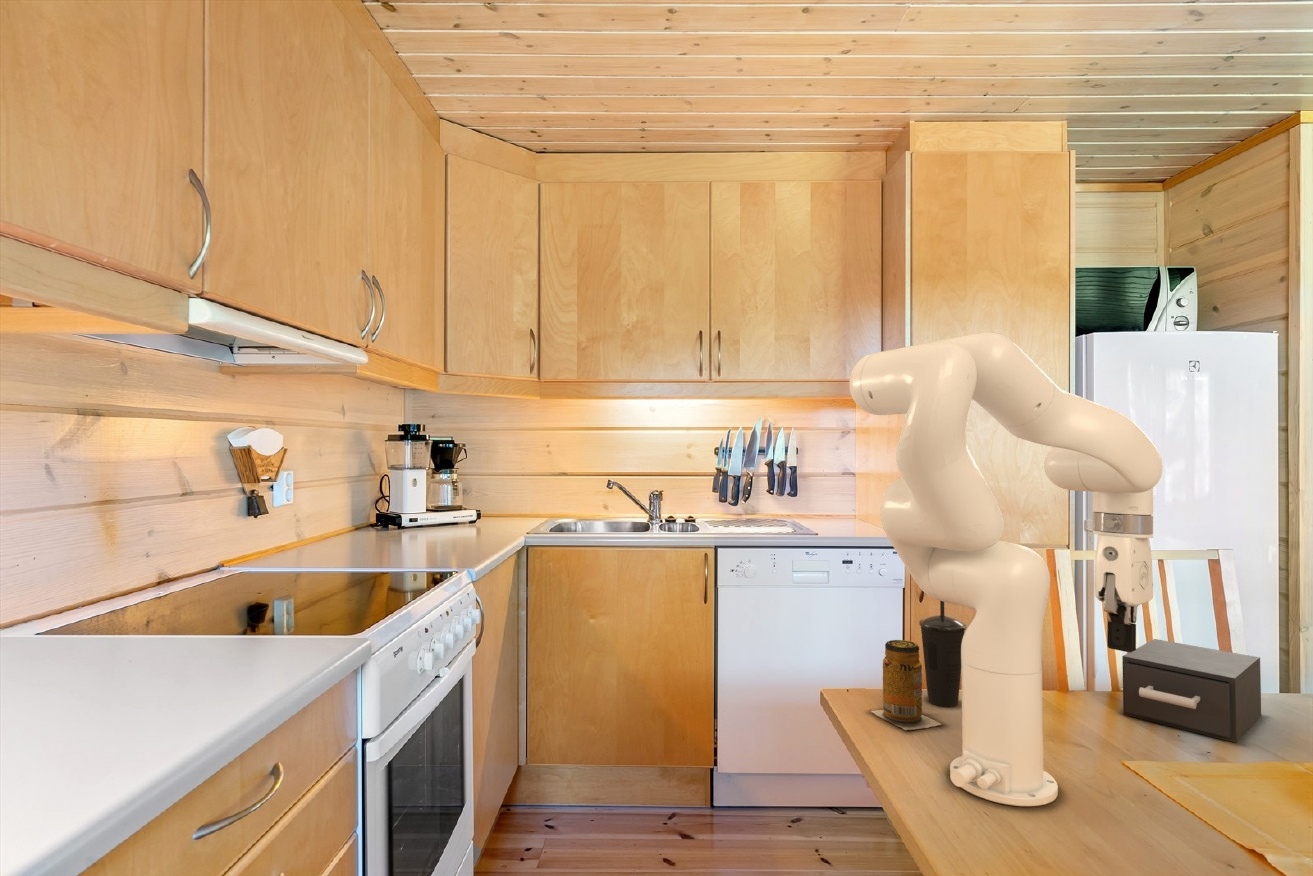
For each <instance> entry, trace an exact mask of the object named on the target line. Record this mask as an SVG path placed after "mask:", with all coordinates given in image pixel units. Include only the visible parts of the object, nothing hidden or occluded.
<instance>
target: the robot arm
mask: <svg viewBox="0 0 1313 876" xmlns="http://www.w3.org/2000/svg"><path fill="white" fill-rule="evenodd" d="M848 387H849V393H850V396H851V398H852V400H853V402H854V403H855V404H856V405H857V406H858V408H860V409H861V410H862V411H864V412H865V413H868V414H870V415H875V416H891V415H906V416H905V420H904V421H903V422H904V423H903V426H902V429H901V432H900V435H899V438H898V441H897V445H896V452H895V460H896V465H897V468H898V471H899V473H900V475H901V477H900V478H898V479H896V480H894V481H892V482H891V483H890V484H889V485H888V486H887V487H886V489H885V490H884V492H883V493H882V497H881V500H880V507H879V512H880V514H879V515H880V521H881V526H882V528H883V530H884V533H885V535H886V537H887V539H888V540H889V542H890V544H891V546H892V547H893V548H894V550H895V552H896V554H897V555H898V557H899V558H900V560H901V561H902V564H903V565H904V566H905V568H906V570H907V571H908V573H909V574H910V576H911V577H912V579H913V580H914V582H915V584H917V586H918V587H919V589H920V590H921V591H922V592H923V593H924V594H925V595H927V596H928V597H930V598H932V599H935V600H938V601H939V602H940V601H944V603H948V604H953V605H956V606H962V607H965V608H969V609H971V610H975V611H976V612H975V616H974V617H973V619H972V621H971V622H970V624H969V625H968V627H967V628H966V630H965V632H964V636H963V639H962V644H961V740H962V741H961V747H962V748H961V749H962V750H961V751H962V752H961V755H960V756H958V757H956V758H954V759H953V760H952V761H951V762H950V764H949V771H950V772H949V777H950V778H949V779H950V781H951V783H953V785H954V786H955V787H958V788H961V789H963V790H964V791H966V792H968V793H970V794H972V795H973V796H975V797H978V798H981V799H983V800H987V801H990V802H994V803H997V804H1003V805H1007V806H1015V807H1039V806H1044V805H1047V804H1050V803H1052V802H1053V801H1055V800H1056V799H1057V797H1058V795H1059V784H1058V782H1057V780H1056V779H1055V778H1054V777H1053V776H1052V775H1051V774H1050V773H1049V772H1047V771H1046V770H1044V769H1045V768H1044V714H1043V713H1044V711H1043V710H1044V708H1043V707H1044V706H1043V703H1044V702H1043V699H1044V698H1043V631H1044V630H1043V629H1044V620H1045V613H1046V608H1047V604H1048V598H1049V596H1050V595H1049V594H1050V588H1051V574H1050V573H1051V572H1050V570H1049V567H1048V565H1047V563H1046V561H1045V560H1044V558H1043V557H1042V556H1041V555H1040V554H1038V552H1036V551H1035V550H1033V549H1031V548H1029V547H1027V546H1024V545H1022V544H1018V543H1015V542H1009V541H1004V540H1000V539H1001V538H1002V536H1003V534H1004V531H1005V521H1004V516H1003V512H1002V510H1001V508H1000V505H999V503H998V500H997V499H996V497H995V495H994V492H992V490H991V487H990V486H989V484H988V482H987V481H986V479H985V476H983V474H982V472H981V470H980V468H979V466H978V465H977V462H976V461H975V459H974V457H973V455H972V453H971V450H970V449H969V446H968V443H967V439H966V427H967V420H968V415H969V411H970V408H971V404H972V401H974V402H975V403H976V404H978V405H979V406H980V407H981V408H982V409H983V410H985V411H986V412H987V413H988V414H989V415H990V416H991V417H992V418H993V419H995V420H996V421H997V423H998V424H1000V425H1001V426H1002V427H1003V429H1005V430H1006V431H1007V432H1008V433H1010V435H1012V436H1015V437H1016V438H1018V439H1021V440H1024V441H1027V442H1031V443H1034V444H1038V445H1042V446H1047V447H1051V448H1050V449H1049V451H1047V453H1046V454H1045V457H1044V462H1043V469H1044V472H1045V474H1046V477H1047V479H1048V480H1049V481H1050V482H1051V483H1052V484H1054V485H1055V486H1056V487H1059V488H1061V489H1063V490H1068V491H1073V492H1074V491H1075V492H1091V493H1092V534H1093V535H1097V539H1096V540H1097V541H1096V547H1095V549H1096V550H1095V563H1094V595H1095V598H1096V599H1097V601H1100V602H1103V611H1104V612H1105V613H1106V621H1107V625H1106V626H1107V627H1106V628H1107V629H1106V630H1107V634H1106V635H1107V636H1106V638H1107V639H1106V643H1107V644H1106V645H1107V648H1108V649H1111V650H1115V651H1120V652H1125V653H1129V652H1132V651H1135V650H1136V649H1137V624H1136V623H1137V617H1138V606H1139V605H1143V604H1146V603H1149V602H1151V601H1152V600H1153V598H1154V577H1153V576H1154V575H1153V560H1152V559H1153V557H1152V548H1151V541H1150V539H1153V538H1154V487H1156V486H1157V484H1158V483H1159V482H1160V480H1161V478H1162V476H1163V475H1162V474H1163V461H1162V457H1161V454H1160V452H1159V450H1158V448H1157V446H1156V445H1155V443H1154V442H1153V441H1152V440H1151V438H1150V437H1149V436H1148V435H1147V434H1146V433H1145V431H1143V429H1141V427H1140V426H1138V425H1137V423H1135V422H1134V421H1133V420H1132V419H1130V418H1129V417H1127V416H1126V415H1124V414H1122V413H1121V412H1119V411H1116V410H1115V409H1112V408H1110V407H1107V406H1106V405H1102V404H1099V403H1097V402H1094V401H1092V400H1089V399H1087V398H1085V397H1082V396H1079V395H1076V394H1074V393H1070V392H1067V391H1065V390H1063V389H1062V388H1060V387H1059V386H1058V385H1057V384H1056V383H1055V382H1054V381H1053V380H1052V379H1051V378H1050V377H1049V376H1048V375H1047V374H1046V373H1045V372H1044V371H1043V370H1042V369H1041V368H1040V367H1039V366H1038V365H1037V364H1036V363H1035V362H1034V361H1033V359H1032V358H1030V357H1029V356H1028V355H1027V354H1026V353H1025V352H1024V351H1023V350H1022V349H1021V348H1020V347H1019V346H1018V345H1017V344H1016V343H1015V342H1014V341H1013V340H1012V339H1011V338H1009V337H1008V336H1006V335H1004V334H1001V333H998V332H989V331H988V332H987V331H986V332H978V333H972V334H966V335H960V336H956V337H950V338H945V339H939V340H935V341H931V342H930V341H929V342H925V343H919V344H915V345H909V346H903V347H900V348H894V349H889V350H883V351H876V352H873V353H869V354H867V355H865V356H863V357H862V358H860V359H859V360H858V362H857V363H855V365H854V366H853V368H852V370H851V372H850V375H849V380H848Z"/></svg>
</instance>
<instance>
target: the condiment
mask: <svg viewBox="0 0 1313 876" xmlns="http://www.w3.org/2000/svg"><path fill="white" fill-rule="evenodd" d="M884 647H885V648H884V649H885V650H884V655H885V656H884V658H883V659H882V709H876V710H871V711H870V712H871V713H872V714H874V715H875V716H877V717H879V718H881V719H883V720H885V721H886V722H889V723H891V724H892V725H894V726H896V727H898V728H901V729H902V730H904V731H911V730H921V729H928V728H932V727H937V726H941V725H943V724H942V723H940V722H939V721H936V720H934V719H932V718H930V717H929V716H926V715H923V697H922V696H923V674H922V673H923V671H922V670H923V665H922V662H921V660H920V646H919V645H918V644H917V643H916V642H912V641H910V640H905V639H892V640H887V641H886V643H885V644H884Z"/></svg>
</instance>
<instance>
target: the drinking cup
mask: <svg viewBox="0 0 1313 876" xmlns="http://www.w3.org/2000/svg"><path fill="white" fill-rule="evenodd" d="M918 625H919V626H920V632H921V633H920V634H921V642H922V652H923V653H922V654H923V662H924V672H925V683H926V693H927V701H928V703H930V704H932V705H935V706H937V707H944V708H954V707H957V706H958V705H959V697H960V688H961V687H960V686H961V678H962V676H961V644H962V639H963V636H964V634H965V632H966V630H967V628H968V627H967V624H966V623H965V622H963V621H960V620H958V619H957V618H955V617H952V616H948V615H945V602H944V601H940V600H939V615H938V614H936V615H931V616H927V617H925V618H922V619H920V620H919V621H918Z"/></svg>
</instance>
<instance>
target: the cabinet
mask: <svg viewBox="0 0 1313 876" xmlns="http://www.w3.org/2000/svg"><path fill="white" fill-rule="evenodd" d="M1121 657H1122V659H1121V660H1122V662H1121V663H1122V711H1123V712H1122V713H1123V715H1124V716H1129V717H1132V718H1136V719H1141V720H1143V721H1148V722H1152V723H1156V724H1160V725H1164V726H1168V727H1172V728H1176V729H1179V730H1183V731H1187V732H1191V733H1196V734H1200V735H1203V736H1207V737H1210V738H1215V739H1219V740H1223V741H1227V742H1231V743H1235V744H1237V743H1238V742H1239V741H1240V740H1241V739H1242V738H1243V737H1244V736H1245V734H1247V732H1248V731H1250V729H1251V728H1252V727H1253V725H1255V723H1256V722H1257V721H1258V720H1259V719H1260V718H1261V717H1262V685H1261V682H1262V678H1261V676H1262V675H1261V657H1259V656H1254V655H1248V654H1242V653H1237V652H1233V651H1232V652H1231V651H1225V650H1220V649H1215V648H1209V647H1203V646H1197V645H1191V644H1186V643H1179V642H1176V641H1175V642H1174V641H1169V640H1165V639H1159V638H1158V639H1157V638H1154V639H1151V640H1150V641H1148V642H1146V643H1145V644H1142V645H1141V646H1139V647H1136V650H1135V651H1132V652H1126V654H1124V655H1122V656H1121ZM1125 663H1132V664H1134V663H1136V664H1141V665H1146V666H1151V667H1156V668H1161V669H1166V670H1171V671H1175V672H1180V673H1185V674H1190V675H1195V676H1200V677H1205V678H1210V679H1215V680H1220V681H1225V682H1229V683H1230V700H1231V736H1230V737H1229V738H1228V737H1224V736H1220V735H1216V734H1212V733H1208V732H1204V731H1200V730H1196V729H1192V728H1188V727H1184V726H1180V725H1176V724H1172V723H1169V722H1165V721H1161V720H1157V719H1153V718H1149V717H1145V716H1141V715H1137V714H1133V713H1129V712H1125V683H1124V664H1125Z"/></svg>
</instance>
